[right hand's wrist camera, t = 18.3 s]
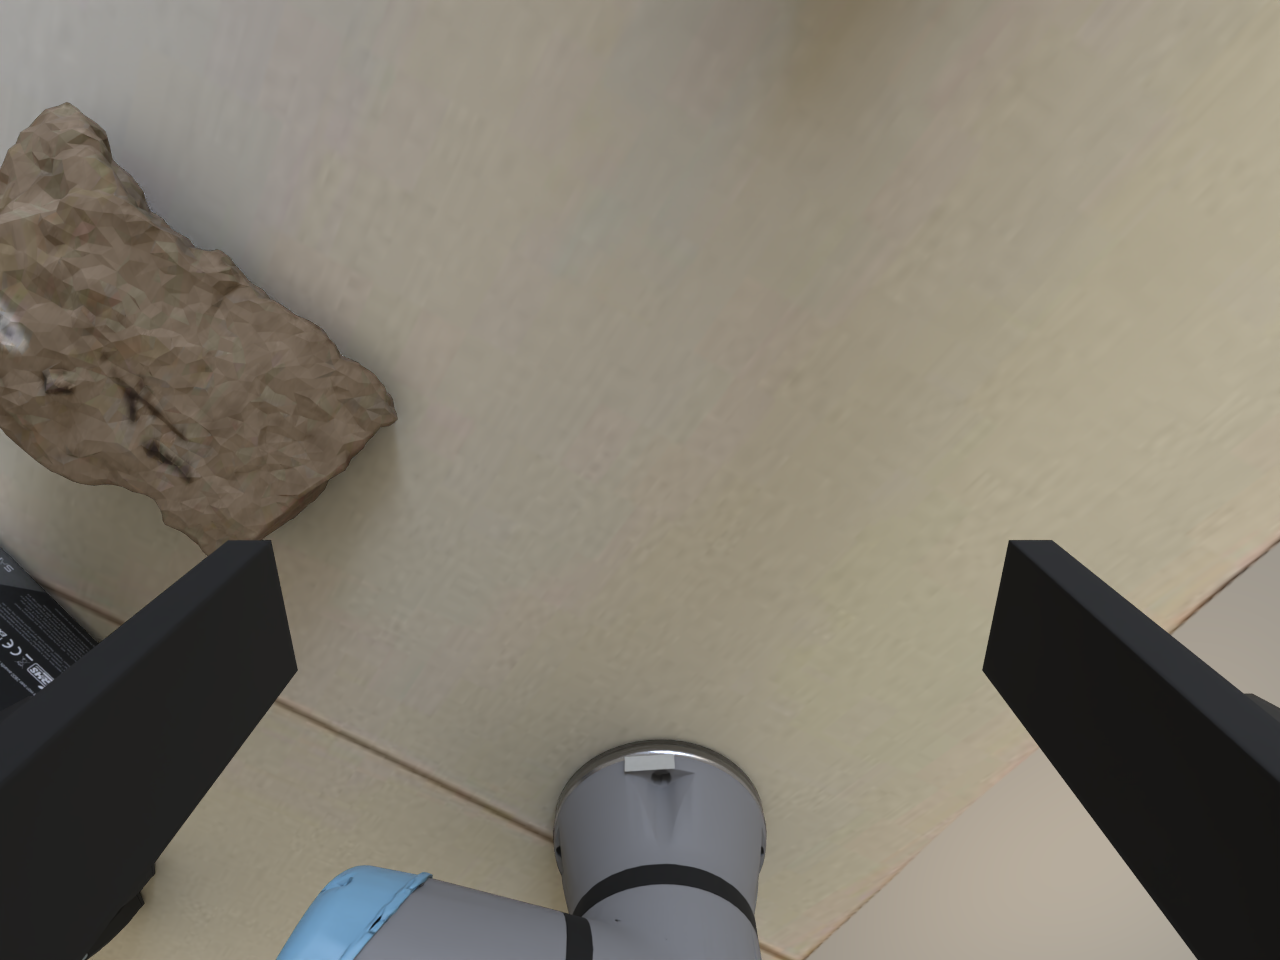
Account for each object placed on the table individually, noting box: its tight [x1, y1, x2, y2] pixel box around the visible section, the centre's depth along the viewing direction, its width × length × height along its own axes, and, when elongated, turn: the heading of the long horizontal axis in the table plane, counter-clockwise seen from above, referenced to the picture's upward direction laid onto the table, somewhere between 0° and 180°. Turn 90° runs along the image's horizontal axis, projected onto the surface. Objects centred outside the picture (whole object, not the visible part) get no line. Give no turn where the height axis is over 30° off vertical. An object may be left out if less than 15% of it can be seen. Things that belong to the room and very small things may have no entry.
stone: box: [0, 102, 397, 556], centre depth 37 cm, size 21×15×6 cm
